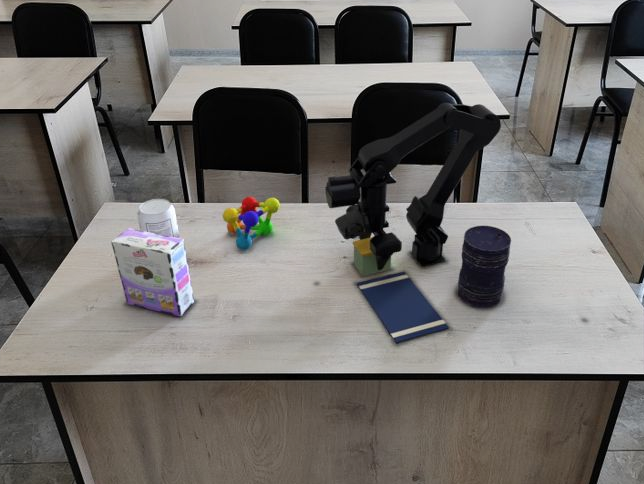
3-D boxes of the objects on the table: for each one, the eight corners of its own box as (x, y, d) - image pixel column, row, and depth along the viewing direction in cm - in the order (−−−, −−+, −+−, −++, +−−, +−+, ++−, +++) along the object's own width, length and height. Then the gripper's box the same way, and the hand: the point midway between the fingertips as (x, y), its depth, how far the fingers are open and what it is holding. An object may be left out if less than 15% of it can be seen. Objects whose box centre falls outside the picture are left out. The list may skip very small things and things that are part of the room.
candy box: (195, 301, 131) (185, 238, 123) (180, 318, 127) (168, 253, 118) (142, 288, 135) (128, 226, 127) (125, 304, 130) (109, 240, 122)
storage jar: (471, 312, 128) (479, 254, 121) (448, 286, 136) (454, 230, 128) (511, 302, 132) (521, 245, 124) (486, 276, 139) (494, 221, 132)
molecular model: (221, 231, 156) (247, 180, 155) (261, 253, 156) (288, 202, 155) (204, 236, 141) (234, 179, 140) (249, 260, 141) (279, 204, 140)
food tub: (381, 256, 146) (382, 234, 143) (391, 269, 142) (392, 247, 138) (352, 263, 144) (352, 241, 141) (361, 277, 139) (362, 254, 136)
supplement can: (140, 266, 143) (128, 211, 135) (162, 248, 149) (152, 194, 141) (168, 273, 140) (158, 218, 132) (190, 255, 146) (180, 201, 139)
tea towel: (404, 272, 141) (404, 271, 141) (448, 328, 124) (449, 327, 124) (356, 284, 137) (356, 282, 137) (396, 343, 120) (396, 342, 120)
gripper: (324, 188, 138) (326, 245, 146) (355, 228, 123) (355, 289, 132) (369, 180, 142) (368, 236, 150) (404, 218, 127) (401, 278, 135)
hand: (372, 258), depth 142 cm, fingers open, 9 cm apart
